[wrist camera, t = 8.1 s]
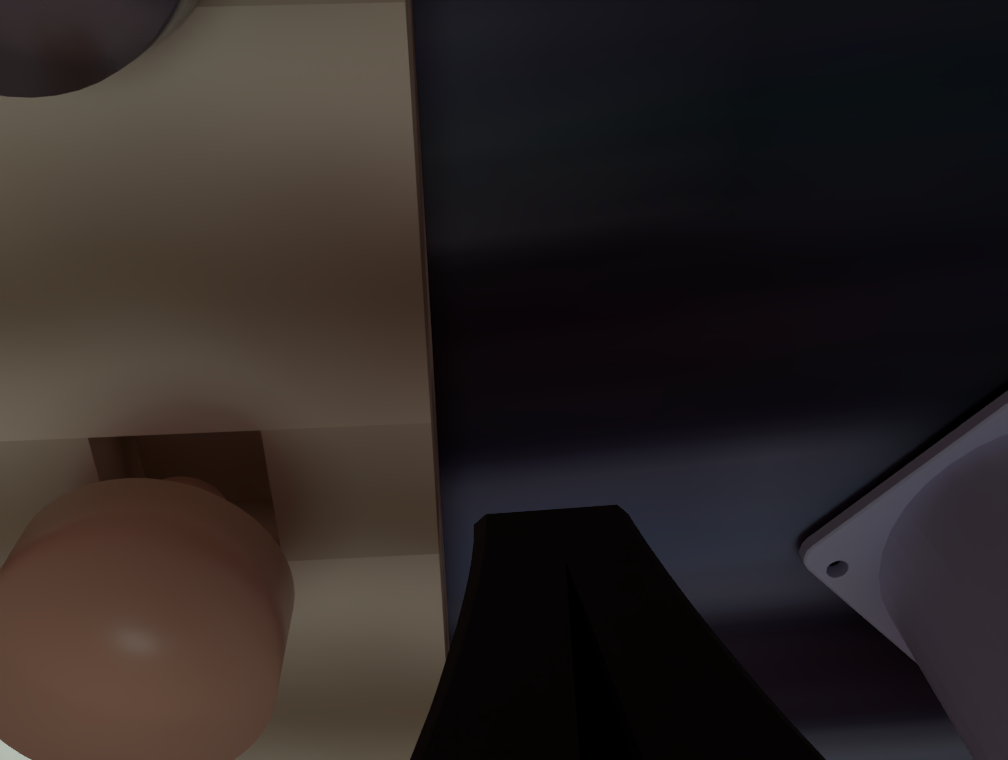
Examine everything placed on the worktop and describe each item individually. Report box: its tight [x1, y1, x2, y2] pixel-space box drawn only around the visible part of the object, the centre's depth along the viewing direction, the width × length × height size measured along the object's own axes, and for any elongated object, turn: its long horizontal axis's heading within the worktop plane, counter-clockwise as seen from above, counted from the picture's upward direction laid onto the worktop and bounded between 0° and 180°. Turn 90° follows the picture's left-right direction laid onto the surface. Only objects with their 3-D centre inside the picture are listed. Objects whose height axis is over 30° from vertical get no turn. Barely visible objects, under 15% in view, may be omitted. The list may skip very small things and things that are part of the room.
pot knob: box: [0, 477, 295, 760], centre depth 15 cm, size 4×4×4 cm
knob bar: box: [0, 0, 450, 760], centre depth 18 cm, size 27×9×3 cm, turn 1°
